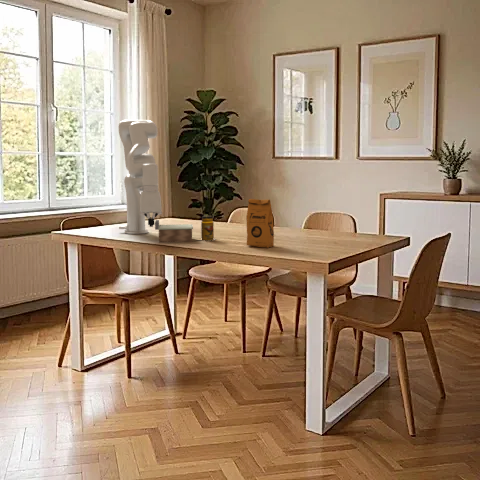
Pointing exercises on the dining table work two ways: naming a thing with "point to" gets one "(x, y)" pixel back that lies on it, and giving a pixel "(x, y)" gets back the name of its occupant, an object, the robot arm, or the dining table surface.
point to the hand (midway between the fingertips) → (151, 226)
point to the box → (175, 235)
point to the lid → (172, 226)
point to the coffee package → (260, 224)
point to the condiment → (207, 228)
